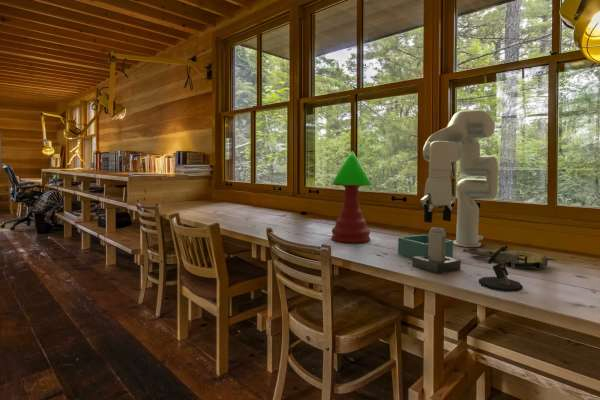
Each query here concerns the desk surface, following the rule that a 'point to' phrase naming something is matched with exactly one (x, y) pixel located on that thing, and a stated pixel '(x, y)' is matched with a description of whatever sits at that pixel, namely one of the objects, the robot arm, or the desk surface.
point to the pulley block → (533, 260)
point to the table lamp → (351, 203)
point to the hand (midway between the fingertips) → (437, 221)
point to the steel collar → (436, 264)
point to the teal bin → (419, 246)
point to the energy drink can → (436, 244)
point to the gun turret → (500, 270)
